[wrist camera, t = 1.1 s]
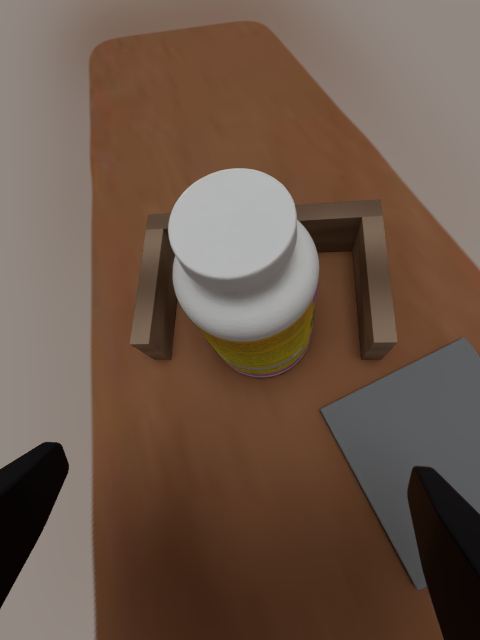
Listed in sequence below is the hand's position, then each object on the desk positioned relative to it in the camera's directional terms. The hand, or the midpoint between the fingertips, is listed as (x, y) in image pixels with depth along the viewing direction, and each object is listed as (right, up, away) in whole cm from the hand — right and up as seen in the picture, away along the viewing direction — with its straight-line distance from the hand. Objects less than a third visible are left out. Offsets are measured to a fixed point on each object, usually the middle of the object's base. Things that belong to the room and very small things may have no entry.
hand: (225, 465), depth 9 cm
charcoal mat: (+12, -4, +11) cm, 17 cm away
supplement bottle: (+2, +3, +16) cm, 16 cm away
